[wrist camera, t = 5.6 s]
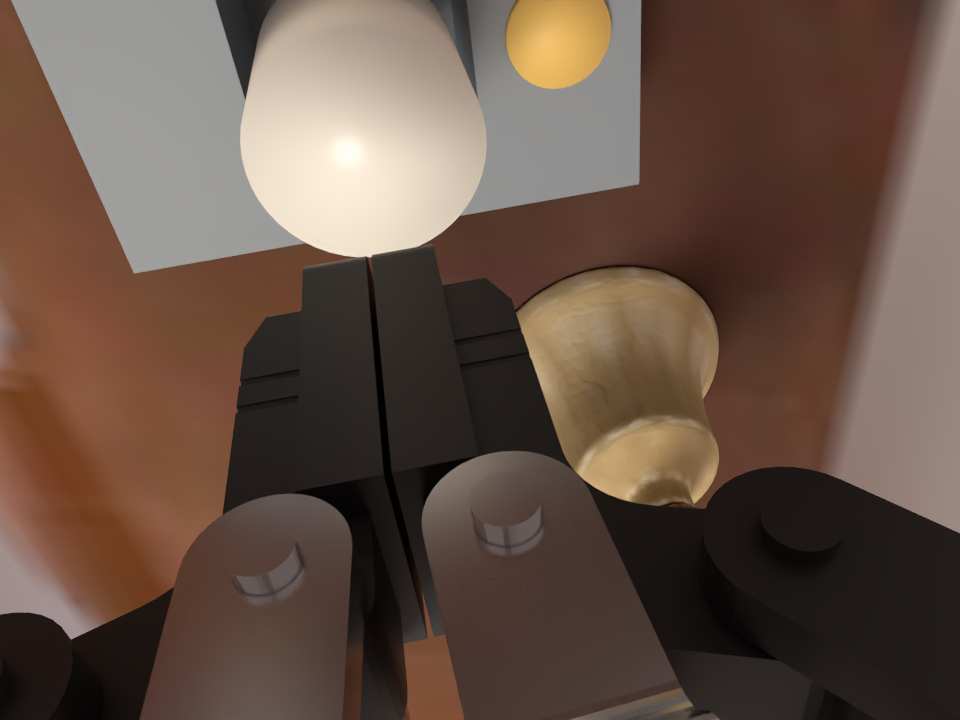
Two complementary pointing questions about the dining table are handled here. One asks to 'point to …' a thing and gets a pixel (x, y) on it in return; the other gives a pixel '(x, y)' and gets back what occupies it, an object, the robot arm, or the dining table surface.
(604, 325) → the hand bell
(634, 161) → the console
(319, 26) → the button
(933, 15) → the dining table surface
